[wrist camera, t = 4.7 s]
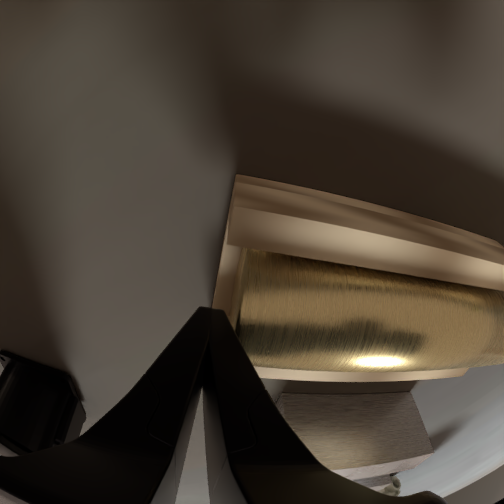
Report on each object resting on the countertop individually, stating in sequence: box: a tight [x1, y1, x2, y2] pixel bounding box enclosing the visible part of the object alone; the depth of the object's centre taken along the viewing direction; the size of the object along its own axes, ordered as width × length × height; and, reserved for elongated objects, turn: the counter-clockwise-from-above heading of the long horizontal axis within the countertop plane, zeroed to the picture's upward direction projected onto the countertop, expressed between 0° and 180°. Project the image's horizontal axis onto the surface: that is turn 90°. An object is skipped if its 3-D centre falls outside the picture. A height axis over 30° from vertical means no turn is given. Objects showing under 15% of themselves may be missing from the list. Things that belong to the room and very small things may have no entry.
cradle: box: [276, 392, 434, 492], centre depth 18 cm, size 10×8×6 cm
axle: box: [229, 247, 504, 372], centre depth 11 cm, size 16×4×4 cm, turn 79°
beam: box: [212, 174, 504, 382], centre depth 12 cm, size 14×7×3 cm, turn 78°
